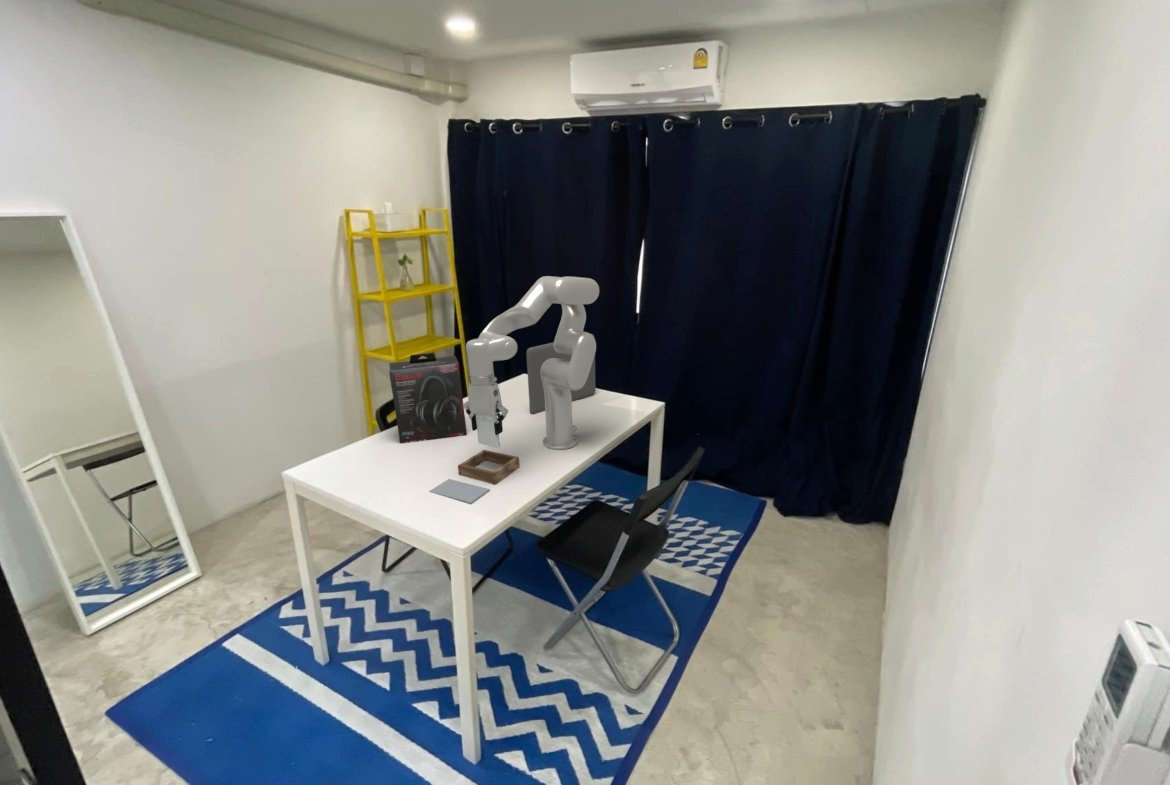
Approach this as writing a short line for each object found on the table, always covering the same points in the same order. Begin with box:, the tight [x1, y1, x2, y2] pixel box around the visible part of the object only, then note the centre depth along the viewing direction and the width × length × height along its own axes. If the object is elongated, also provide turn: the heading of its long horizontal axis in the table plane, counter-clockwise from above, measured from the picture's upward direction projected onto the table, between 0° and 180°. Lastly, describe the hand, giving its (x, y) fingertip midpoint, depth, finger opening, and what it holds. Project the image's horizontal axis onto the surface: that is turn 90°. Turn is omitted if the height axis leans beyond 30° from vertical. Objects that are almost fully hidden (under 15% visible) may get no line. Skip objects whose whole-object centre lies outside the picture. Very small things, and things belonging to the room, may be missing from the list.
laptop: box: [526, 333, 597, 415], centre depth 246 cm, size 38×29×29 cm
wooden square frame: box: [457, 449, 521, 486], centre depth 181 cm, size 13×14×4 cm
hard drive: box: [475, 412, 501, 449], centre depth 177 cm, size 2×8×12 cm, turn 58°
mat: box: [428, 478, 491, 505], centre depth 169 cm, size 9×16×1 cm, turn 62°
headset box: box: [388, 352, 468, 444], centre depth 206 cm, size 24×13×33 cm, turn 109°
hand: (487, 431), depth 177 cm, fingers closed on hard drive, 8 cm apart
